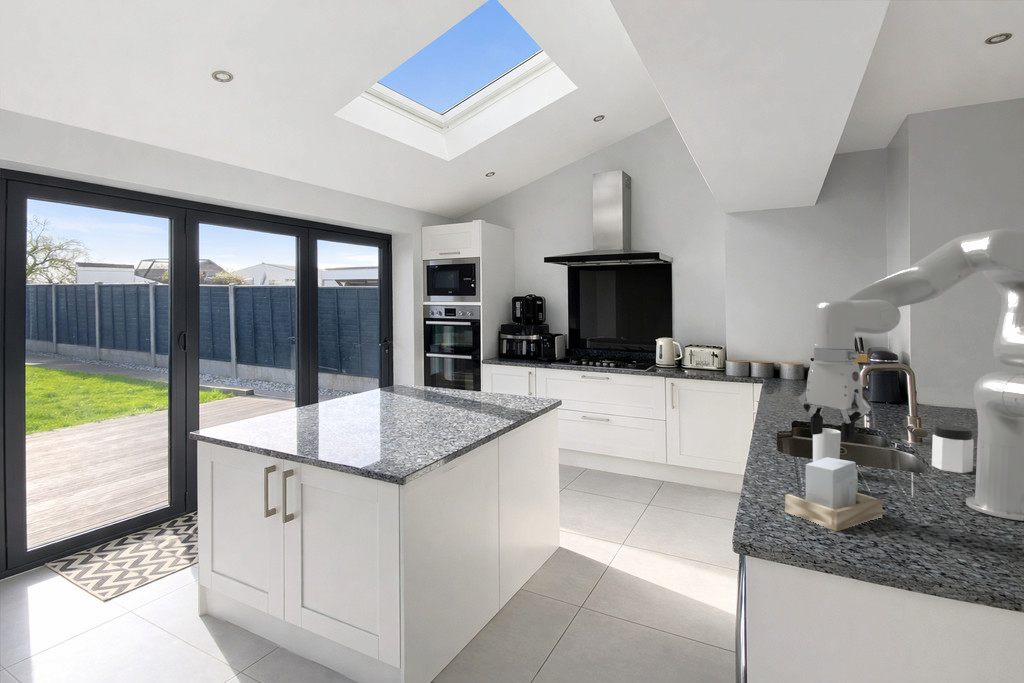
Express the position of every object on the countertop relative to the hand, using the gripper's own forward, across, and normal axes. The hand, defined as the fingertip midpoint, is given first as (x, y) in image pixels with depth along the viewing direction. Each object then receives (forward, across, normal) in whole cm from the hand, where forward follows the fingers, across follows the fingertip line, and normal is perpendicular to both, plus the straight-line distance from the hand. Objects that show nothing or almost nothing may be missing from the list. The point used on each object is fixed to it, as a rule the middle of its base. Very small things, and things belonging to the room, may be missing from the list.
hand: (831, 436), depth 112 cm
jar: (+18, +6, -65) cm, 68 cm away
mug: (+18, +20, -31) cm, 41 cm away
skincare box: (+17, 0, -1) cm, 17 cm away
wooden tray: (+18, 0, 0) cm, 18 cm away
